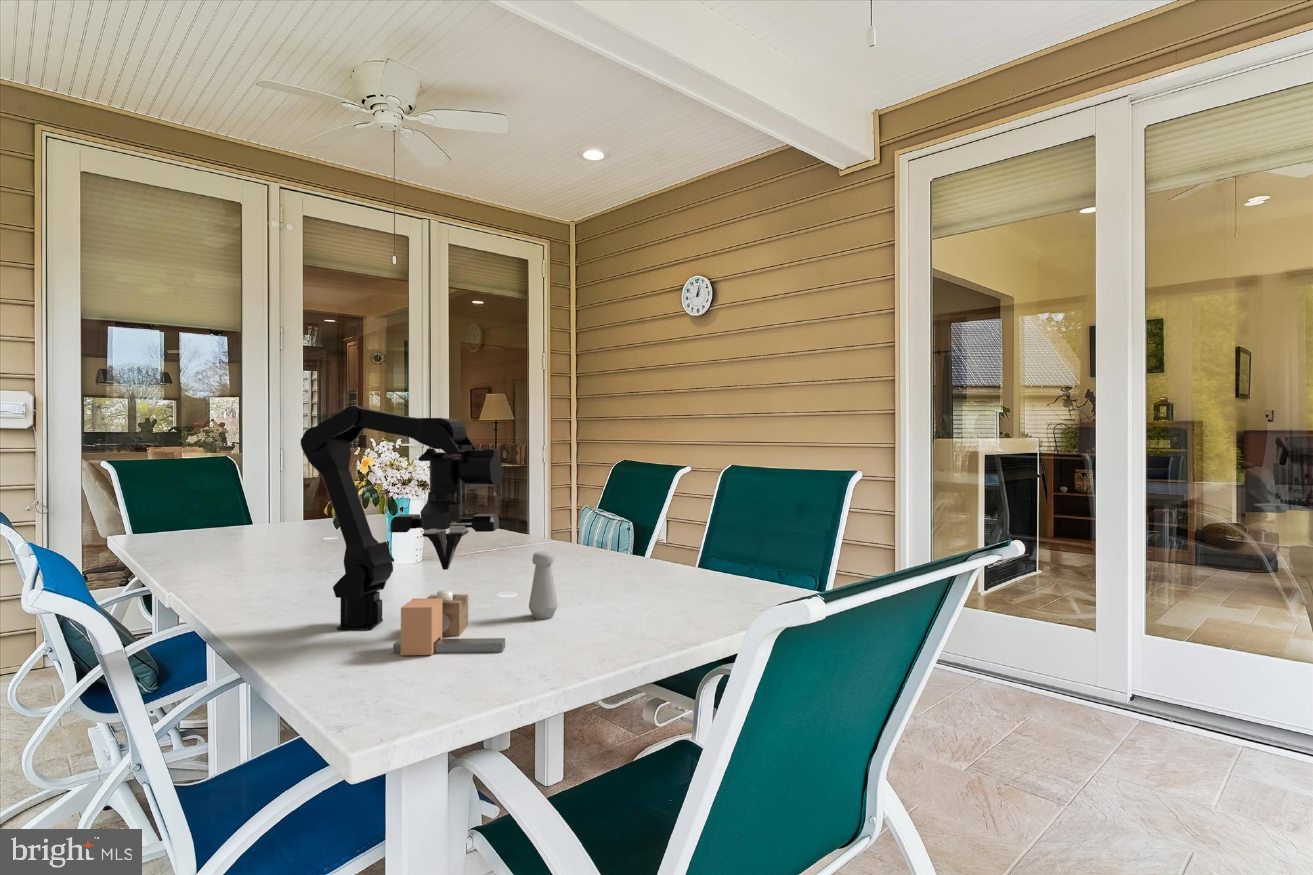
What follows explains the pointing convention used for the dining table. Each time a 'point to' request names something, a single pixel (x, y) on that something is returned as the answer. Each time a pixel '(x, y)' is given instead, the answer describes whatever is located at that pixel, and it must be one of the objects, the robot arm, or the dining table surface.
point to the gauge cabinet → (454, 615)
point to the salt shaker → (543, 587)
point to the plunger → (445, 595)
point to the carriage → (421, 626)
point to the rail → (463, 645)
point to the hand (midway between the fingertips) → (445, 569)
